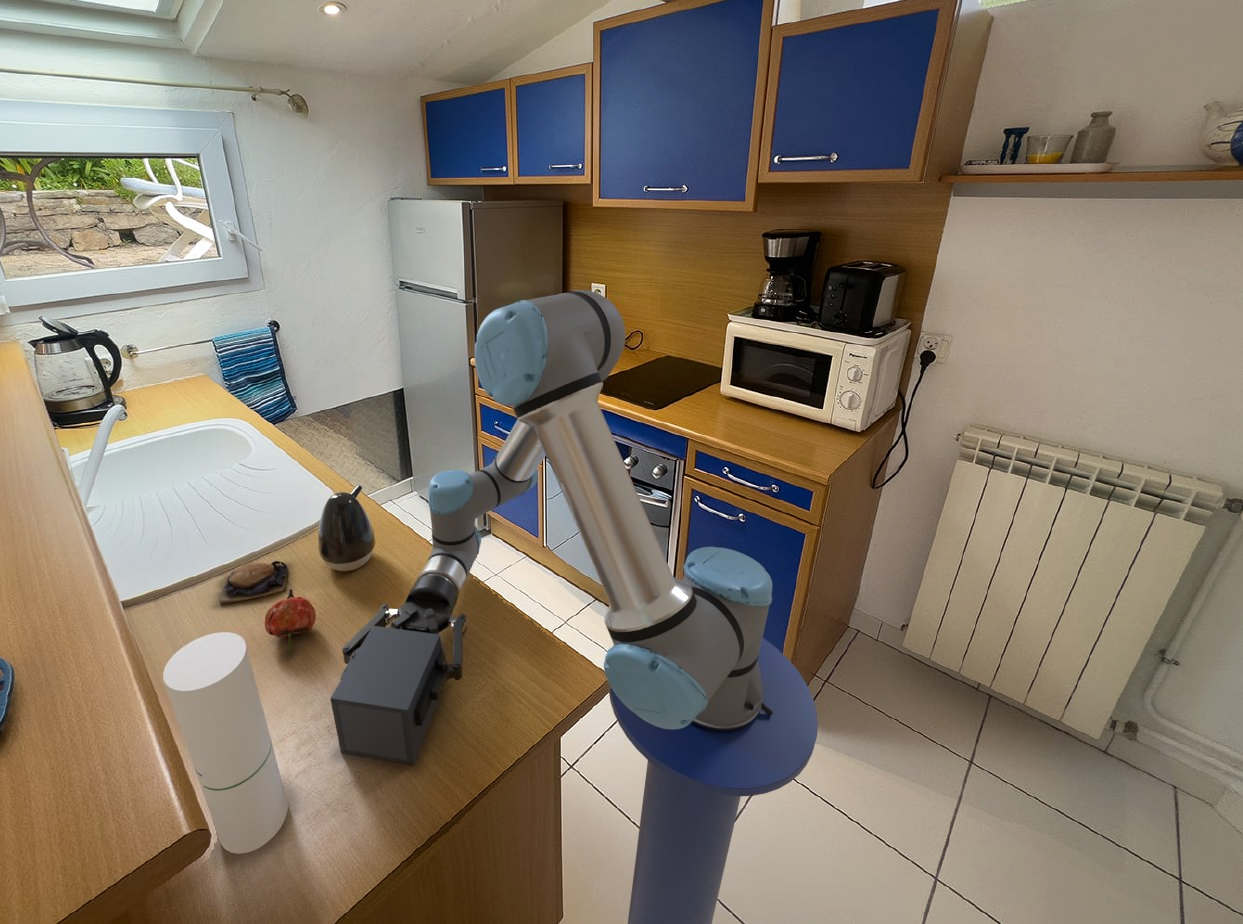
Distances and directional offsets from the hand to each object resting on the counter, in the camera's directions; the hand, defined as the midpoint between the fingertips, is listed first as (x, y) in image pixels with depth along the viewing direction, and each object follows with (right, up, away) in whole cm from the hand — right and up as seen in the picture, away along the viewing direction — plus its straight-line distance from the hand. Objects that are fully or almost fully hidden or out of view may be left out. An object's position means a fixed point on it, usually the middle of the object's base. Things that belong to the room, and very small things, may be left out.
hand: (377, 712), depth 70 cm
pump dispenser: (-17, +8, +37) cm, 41 cm away
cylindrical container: (-13, -9, -6) cm, 17 cm away
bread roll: (-32, +6, +31) cm, 44 cm away
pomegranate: (-19, +1, +19) cm, 28 cm away
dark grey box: (+1, -4, +6) cm, 8 cm away
